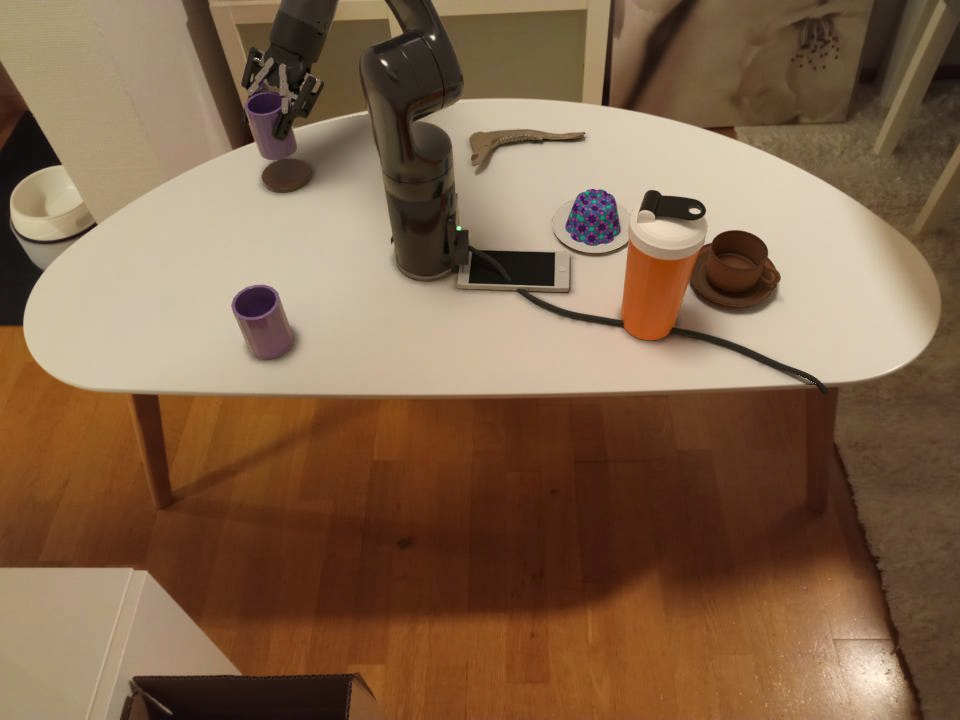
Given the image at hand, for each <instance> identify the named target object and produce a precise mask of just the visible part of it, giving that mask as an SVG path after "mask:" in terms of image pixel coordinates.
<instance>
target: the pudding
mask: <svg viewBox="0 0 960 720" xmlns="http://www.w3.org/2000/svg"><path fill="white" fill-rule="evenodd" d="M630 216H631V213H630V212H629V211H628V209H626V208H625V207H624V206H622V204H619V203H617V200H616V198H615V196H614V195H613V194H611V193H608V192H607V190H605V189H600V188H599V189H595V188H588V189H586V190H585V191H582V192H579V194H577V195H576V198H575V199H571V200H569V201H568V202H566V203H564V204H563V205H561V206H560V207H559V208H557V210H556V211H555V213H554V215H553V218H552V220H551V221H552V223H551V225H552V230H553V233H554V234H555V236H556V237H557V239H558V240H559V241H561V242H562V243H563V244H564V245H566V246H567V247H569V248H571V249H573V250H576V251H580V252H583V253H590V254H601V253H608V252H611V251H615V250H617V249H619V248H621V247H623V246H624V245H626V244H627V243H628V242H629V236H628V226H629V221H630Z"/></svg>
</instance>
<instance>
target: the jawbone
mask: <svg viewBox="0 0 960 720" xmlns="http://www.w3.org/2000/svg"><path fill="white" fill-rule="evenodd" d="M586 134H587V132H585V131H581V132H579V131H578V132H573V131H572V132H565V133H552V132H547V131H543V130H542V131H541V130H536V129H528V128H521V129H519V128H518V129H504V130H502V129H501V130H492V131H486V132H485V131H481V130H480V131H475V132H474V133H472V134H471V135H470V137H469V143H470V146H471V148H472V154H471V157H470V160H471V163H472V167H476V166H479V165H480V164H482V163H483V162H484V161H485V159H486V158H487V157H488V155H489V153H490V152H491V151H492V150H493V149H495V148H496V147H497V146H498V145H502V144H509V143H512V142H514V143H515V142H520V141H521V142H522V141H526V140H528V141H529V140H531V141H536V140H537V141H543V140H555V141H556V140H576V139H581V138H584V137H585V135H586Z"/></svg>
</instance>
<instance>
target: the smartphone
mask: <svg viewBox="0 0 960 720" xmlns="http://www.w3.org/2000/svg"><path fill="white" fill-rule="evenodd" d="M477 249H478V250H480V251H482V252H483V253H485V254H487V255H489V256H490V257H492V258H493V259H495V260H496V261H497V262H498V263H499V264H500V265H501V266H502V267H503V268H504V269H505V271H506V272H507V274H508V275H509V277H510V278H511V279H512V280H511V281H507V280H505V279H504V278H503V276H502V275H501V273H500V272H499V271H498V269H497V268H496V267H495V266H493V265H492V264H491V263H489V262H488V261H486V260H485V259H483V258H481V257H479V256H477V255H476V254H474V253H472V252H470V251H469V262H468V265H460V266H459V272H458V274H457V282H456V284H457V285H456V286H457V288H458V289H465V290H466V289H467V290H490V291H491V290H494V291H516V289H524V290H525V291H527V292H548V293H549V292H550V293H553V292H554V293H568V292H569V291H570V258H571V257H570V256H571V255H570V252H568V251H560V250H559V251H558V250H557V251H555V250H529V249H528V250H525V249H498V248H497V249H496V248H495V249H494V248H493V249H492V248H477Z"/></svg>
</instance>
